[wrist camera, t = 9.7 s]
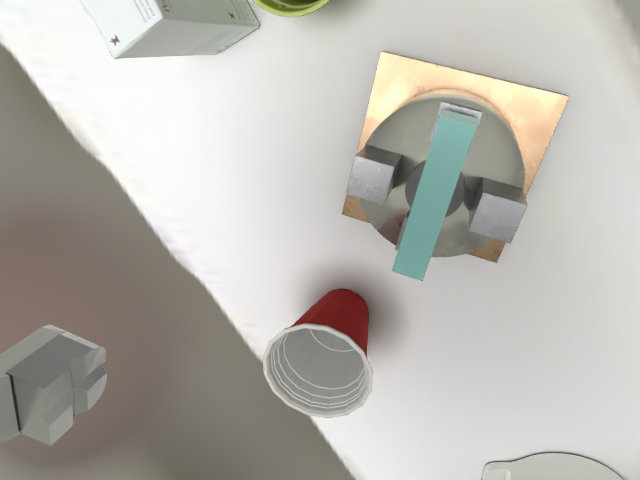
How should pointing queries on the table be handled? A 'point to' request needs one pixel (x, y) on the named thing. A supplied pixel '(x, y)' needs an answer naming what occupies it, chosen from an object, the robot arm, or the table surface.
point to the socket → (481, 160)
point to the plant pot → (291, 6)
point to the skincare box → (170, 26)
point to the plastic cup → (323, 358)
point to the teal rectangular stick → (434, 192)
